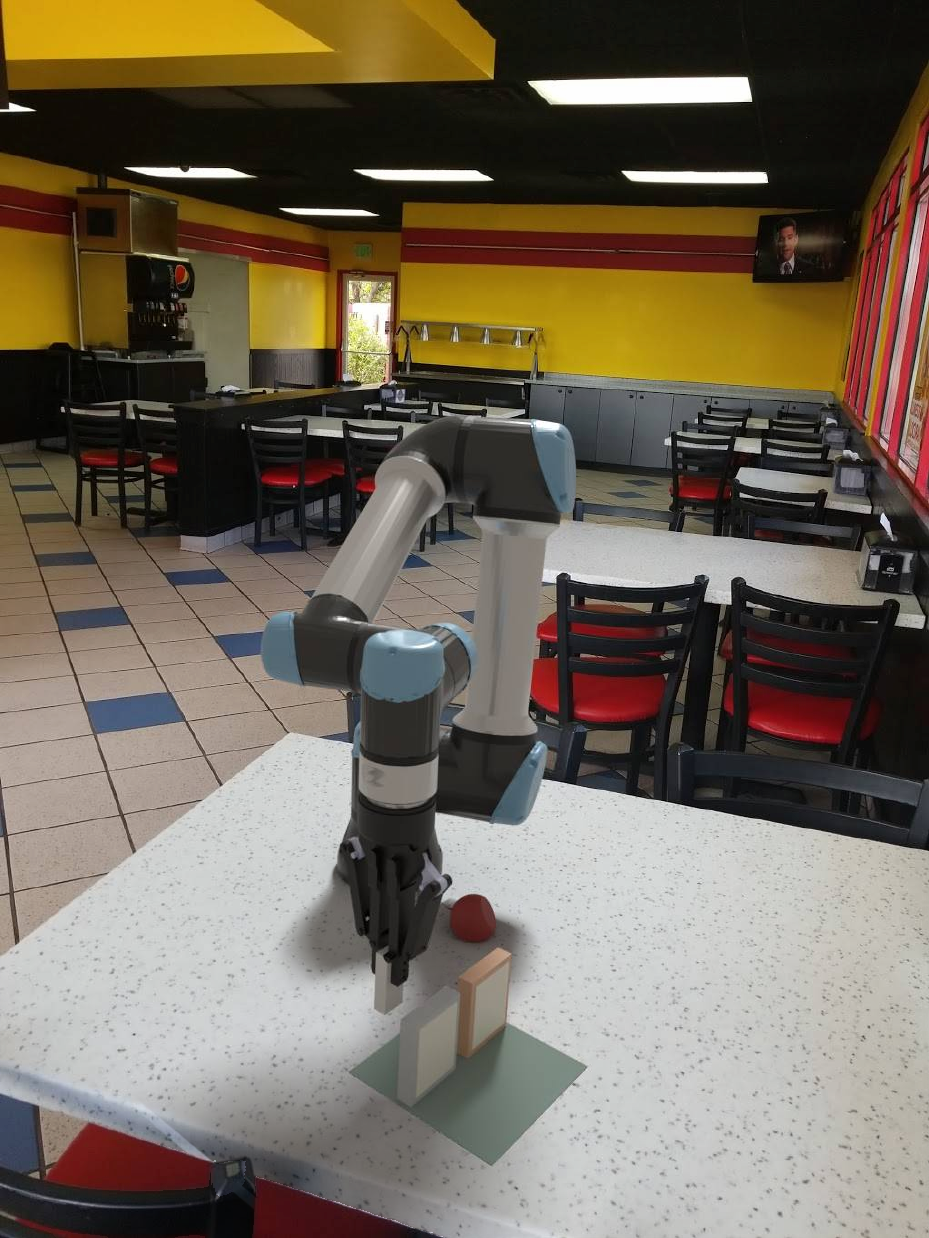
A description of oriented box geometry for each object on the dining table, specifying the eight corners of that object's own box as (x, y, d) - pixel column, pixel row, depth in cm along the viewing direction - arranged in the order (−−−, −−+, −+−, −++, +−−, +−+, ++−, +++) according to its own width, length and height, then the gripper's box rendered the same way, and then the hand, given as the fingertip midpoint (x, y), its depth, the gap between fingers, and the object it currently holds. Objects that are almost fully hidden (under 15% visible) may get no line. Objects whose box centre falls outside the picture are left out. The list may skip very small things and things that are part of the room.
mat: (348, 1076, 97) (348, 1071, 97) (452, 997, 110) (452, 992, 110) (491, 1170, 87) (491, 1165, 87) (587, 1070, 100) (587, 1066, 100)
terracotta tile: (453, 1050, 101) (458, 976, 99) (492, 1018, 106) (498, 947, 104) (468, 1059, 100) (473, 984, 98) (507, 1026, 105) (512, 954, 103)
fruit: (462, 934, 127) (435, 883, 125) (501, 919, 125) (474, 868, 124) (456, 961, 121) (427, 909, 119) (497, 946, 119) (468, 893, 118)
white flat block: (397, 1098, 94) (400, 1019, 92) (441, 1060, 99) (446, 985, 97) (412, 1107, 93) (416, 1028, 91) (456, 1069, 98) (461, 993, 96)
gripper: (321, 784, 93) (316, 995, 99) (423, 827, 85) (412, 1054, 91) (374, 762, 98) (367, 963, 104) (475, 801, 91) (461, 1015, 97)
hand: (388, 1005), depth 98 cm, fingers closed
